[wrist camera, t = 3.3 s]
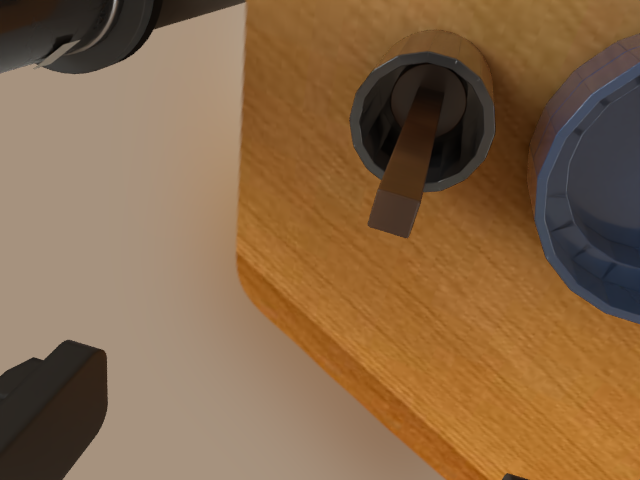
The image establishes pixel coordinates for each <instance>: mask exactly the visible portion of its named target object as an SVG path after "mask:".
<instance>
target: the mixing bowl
mask: <svg viewBox="0 0 640 480" xmlns="http://www.w3.org/2000/svg"><path fill="white" fill-rule="evenodd" d="M527 184H528V190H529V195H530V200H531V205H532V211H533V216H534V221H535V225H536V228H537V231H538V234H539V238H540V241H541V244H542V248H543V251H544V254H545V257H546V259H547V261H548V262H549V263H550V264H551V266H552V267H553V268H554V270H555V271H556V272H557V274H558V275H559V276H560V277H561V279H562V280H563V281H564V283H565V284H566V285H567V287H568V288H569V289H570V290H571V291H573V292H574V293H576V294H577V295H579V296H580V297H582V298H583V299H585V300H586V301H588V302H589V303H591V304H592V305H594V306H595V307H597V308H598V309H600V310H601V311H603V312H604V313H606V314H609V315H612V316H616V317H619V318H622V319H625V320H628V321H632V322H635V323H638V324H640V33H639V34H636V35H633V36H631V37H628V38H625V39H622V40H619V41H617V43H614V44H612V45H611V46H609V47H608V48H606V49H605V50H603V51H602V52H600V53H599V54H598V55H596V56H595V57H593V58H592V59H590V60H589V61H587V62H586V63H584V64H583V65H581V66H580V67H579V68H577V69H576V70H575V71H574V72H573V73H572V74H571V75H570V76H569V78H568V79H567V80H566V81H565V82H564V84H563V85H562V86H561V87H560V88H559V90H558V91H557V92H556V93H555V94H554V96H553V97H552V98H551V99H550V100H549V102H548V103H547V104H546V106H545V108H544V110H543V112H542V115H541V117H540V120H539V122H538V124H537V127H536V129H535V131H534V134H533V136H532V139H531V141H530V145H529V157H528V172H527Z"/></svg>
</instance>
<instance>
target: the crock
mask: <svg viewBox="0 0 640 480" xmlns="http://www.w3.org/2000/svg"><path fill="white" fill-rule="evenodd" d="M421 63H430V64H434V65H438V66H441V67H445V68H448V69H452V70H453V71H454V72H456V73H457V74H458V75H459V76H461V77H462V78H463V79H464V80H465V81H466V83H467V89H468V96H467V106H466V110H465V113H464V116H463V118H462V120H461V121H460V123H459V124H458V125H457V126H456V127H455V128H454V129H453V130H452V131H450V132H449V133H447V134H445V135H443V136H440V137H437V138H435V140H434V145H433V149H432V154H431V158H430V163H429V167H428V172H427V177H426V181H425V186H424V190H423V192H436V191H440V190H441V191H442V190H444V189H447V188H449V187H451V186H453V185H455V184H457V183H460V182H462V181H464V180H465V179H467V178H468V177H469V176H470V175H471V174H472V173H473V172H474V171H475V170H476V169H477V167H478V166H479V165H480V164H481V163H482V162H483V161H484V160H485V158H486V156H487V154H488V151H489V148H490V146H491V143H492V141H493V138H494V136H495V108H494V95H493V82H492V75H491V72H490V69H489V67H488V64H487V62H486V60H485V58H484V57H483V55H482V53H481V52H480V51H479V50H478V49H477V48H476V47H475V46H474V45H473V44H472V43H471V42H469V41H468V40H467V39H465V38H463V37H461V36H459V35H457V34H454V33H452V32H448V31H443V30H426V31H421V32H417V33H414V34H411V35H409V36H407V37H405V38H403V39H402V40H400V41H399V42H397V43H396V44H394V45H393V46H392V47H390V49H389V50H388V51H387V53H386V54H385V55H384V56H383V58H382V59H381V60H380V62H379V63H378V64H377V65H376V67H375V68H374V69H373V71H372V72H371V73H370V75H369V76H368V77H367V78H366V80H365V81H364V82H363V84H362V85H361V86H360V88H359V89H358V90H357V93H356V94H355V98H354V102H353V106H352V110H351V114H350V118H349V119H350V120H349V121H350V128H351V135H352V142H353V146H354V148H355V150H356V152H357V153H358V155H359V157H360V158H361V160H362V162H363V164H364V165H365V167H366V168H367V169H368V170H369V171H370V172H371V173H373V174H374V175H375V176H377V177H378V178H379V179H380V180H382V178H383V175H384V173H385V170H386V168H387V165H388V163H389V160H390V158H391V155H392V153H393V150H394V148H395V145H396V143H397V140H398V138H399V135H400V133H401V130H402V128H401V127H400V126H399V125H398V124H397V122H396V121H395V119H394V117H393V114H392V111H391V106H390V97H391V92H392V89H393V86H394V84H395V82H396V81H397V79H398V77H399V75H400V74H401V72H402V71H403V70H404V69H405V68H406V67H407V66H408V65H413V64H421Z"/></svg>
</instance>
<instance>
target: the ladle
mask: <svg viewBox="0 0 640 480" xmlns="http://www.w3.org/2000/svg"><path fill="white" fill-rule="evenodd" d="M467 96H468V89H467V83H466V81H465V80H464V79H463V78H462V77H461V76H459V75H458V74H457V73H456V72H454V71H453V70H452V69H448V68H445V67H441V66H438V65H434V64H430V63H421V64H413V65H408V66H407V67H406V68H405V69H404V70H403V71H402V72H401V74H400V75H399V77H398V79H397V81H396V82H395V84H394V86H393V89H392V92H391V97H390V106H391V111H392V114H393V117H394V119H395V121H396V122H397V124H398V125H399V126H400V127H401V128H402V130H401V133H400V135H399V138H398V140H397V143H396V145H395V148H394V150H393V153H392V155H391V158H390V160H389V163H388V165H387V168H386V170H385V173H384V175H383V178H382V180H381V183H380V185H379V188H378V190H377V194H376V197H375V200H374V204H373V207H372V211H371V214H370V217H369V221H368V226H369V227H371V228H375V229H378V230H381V231H384V232H388V233H391V234H394V235H397V236H400V237H404V238H408V237H409V236H410V233H411V230H412V227H413V224H414V221H415V218H416V215H417V212H418V209H419V207H420V204H421V199H422V195H423V190H424V186H425V181H426V177H427V172H428V167H429V163H430V158H431V154H432V149H433V145H434V140H435V138H437V137H440V136H443V135H445V134H447V133H449V132H450V131H452V130H453V129H454V128H455V127H456V126H457V125H458V124H459V123H460V121H461V120H462V118H463V116H464V113H465V110H466V106H467Z"/></svg>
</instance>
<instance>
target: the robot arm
mask: <svg viewBox="0 0 640 480" xmlns="http://www.w3.org/2000/svg"><path fill="white" fill-rule="evenodd" d="M123 1H124V0H0V73H3V72H7V71H10V70H14V69H17V68H20V67H24V66H27V65H31V64H34V63H37V62H41V61H43V62H41V63H40V64H39V65H38V66H36V67H35V68H39V67H42V66H46V65H49V64H51V63H52V62H54V61H55V60H56V59H57V58H59V57H60V56H63V55H71V54H75V53H79V52H82V51H85V50H88V49H90V48H92V47H94V46H96V45H98V44H99V43H100V42H102V41H103V40H104V39H105V38H106V37H107V36H108V35H109V34H110V32H111V31H112V29H113V28H114V26H115V25H116V23H117V21H118V18H119V16H120V13H121V10H122V6H123ZM35 68H34V69H35ZM107 405H108V397H107V356H106V353H105V351H104V350H101V349H98V348H95V347H91V346H88V345H85V344H81V343H78V342H75V341H72V340H66V341H64V342H62V343H61V344H60V345H59V346H58V347H57V348H56V349H55V350H54V351H53V352H52V353H51V354H50V355H49V356H48V357H47V358H45V360H41V359H37V358H34V357H33V358H31V359H29V360H27V361H25V362H23V363H21V364H19V365H17V366H15V367H13V368H11V369H9V370H7V371H6V372H5V373H4V374H2V375H1V376H0V480H62V479H63V478H64V477H65V475H66V474H67V473H68V471H69V470H70V469H71V468H72V466H73V465H74V464H75V462H76V461H77V460H78V458H79V457H80V456H81V455H82V453H83V452H84V451H85V449H86V448H87V447H88V445H89V444H90V443H91V442H92V440H93V439H94V438H95V436H96V435H97V433H98V432H99V430H100V428H101V426H102V424H103V421H104V419H105V416H106V412H107ZM502 480H528V479H525V478H522V477H519V476H515V475H512V474H509V473H507V474H506V475H505V476H504V477H503V479H502Z"/></svg>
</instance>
